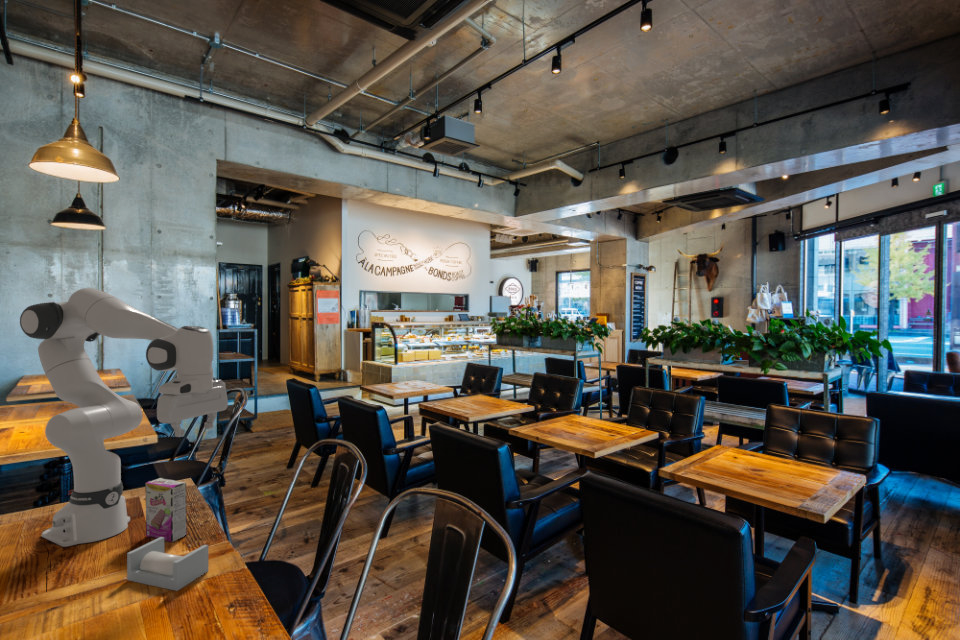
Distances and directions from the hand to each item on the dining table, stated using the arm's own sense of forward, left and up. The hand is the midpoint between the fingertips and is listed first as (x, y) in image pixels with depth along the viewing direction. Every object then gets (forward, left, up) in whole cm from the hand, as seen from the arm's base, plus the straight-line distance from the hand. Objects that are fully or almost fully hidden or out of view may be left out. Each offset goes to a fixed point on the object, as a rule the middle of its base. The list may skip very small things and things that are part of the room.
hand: (194, 432), depth 133 cm
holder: (+6, -13, -33) cm, 36 cm away
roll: (+6, -13, -32) cm, 35 cm away
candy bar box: (-14, +3, -33) cm, 36 cm away
